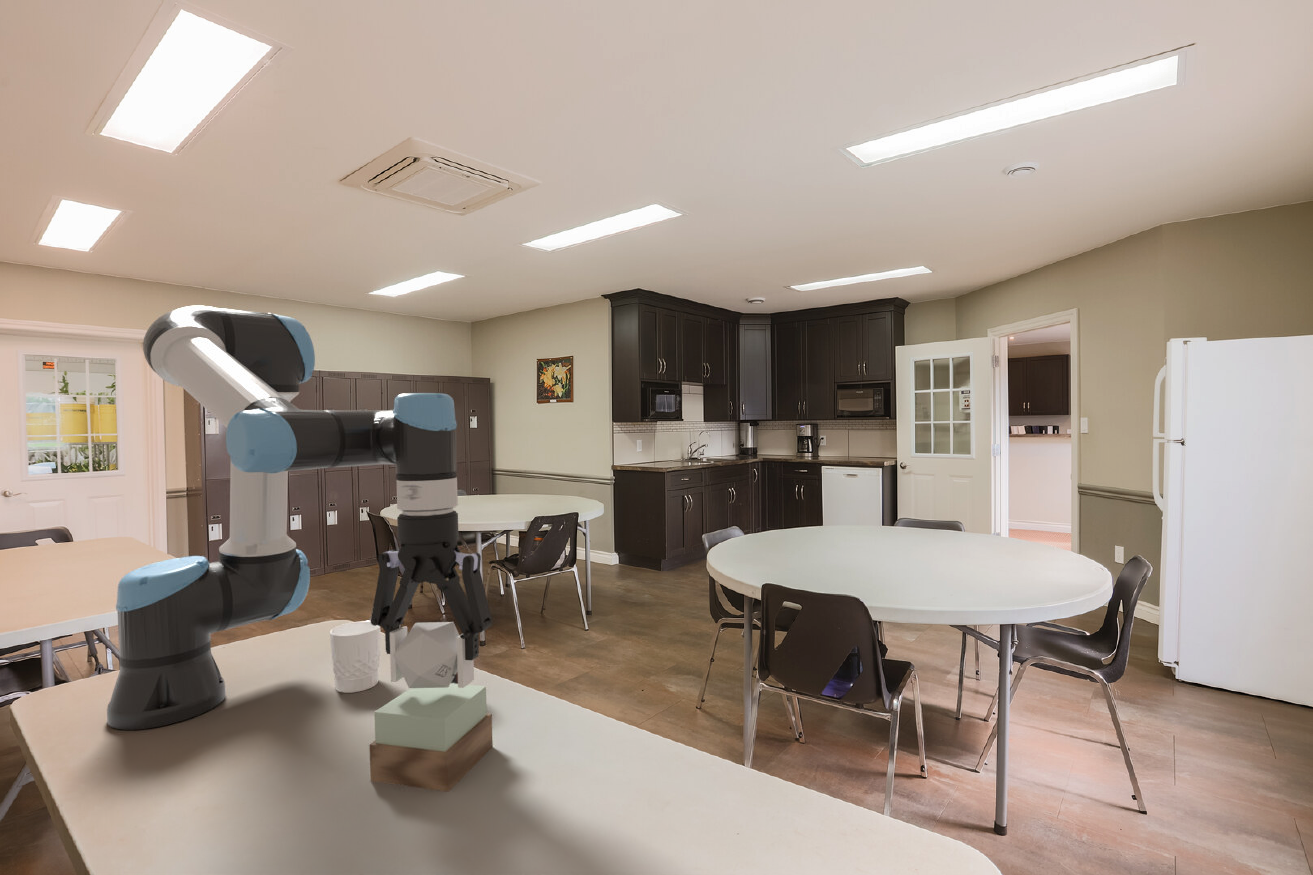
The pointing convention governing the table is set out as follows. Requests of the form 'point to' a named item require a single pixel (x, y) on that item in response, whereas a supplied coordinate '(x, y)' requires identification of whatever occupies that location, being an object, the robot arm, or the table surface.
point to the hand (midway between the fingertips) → (432, 680)
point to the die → (429, 655)
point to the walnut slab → (431, 760)
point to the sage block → (430, 716)
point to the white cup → (355, 656)
